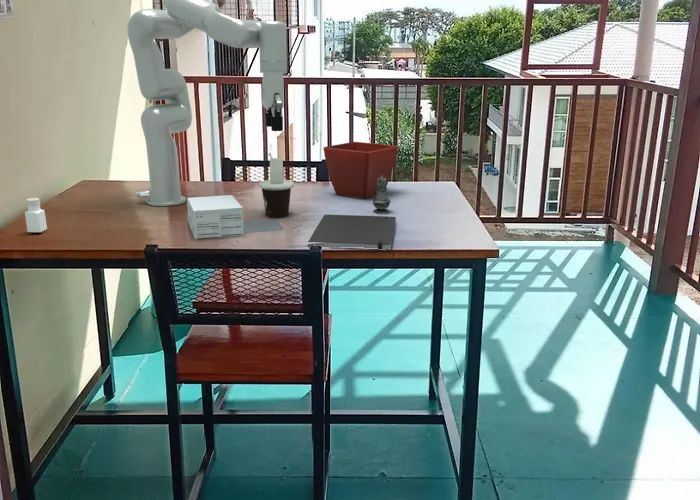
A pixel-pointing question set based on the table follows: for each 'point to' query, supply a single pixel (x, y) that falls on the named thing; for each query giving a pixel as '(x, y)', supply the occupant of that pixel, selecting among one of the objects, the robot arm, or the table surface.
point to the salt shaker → (35, 216)
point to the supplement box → (215, 216)
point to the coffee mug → (276, 202)
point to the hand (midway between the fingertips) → (274, 128)
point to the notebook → (354, 231)
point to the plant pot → (359, 167)
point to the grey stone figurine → (381, 197)
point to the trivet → (261, 226)
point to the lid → (276, 177)
